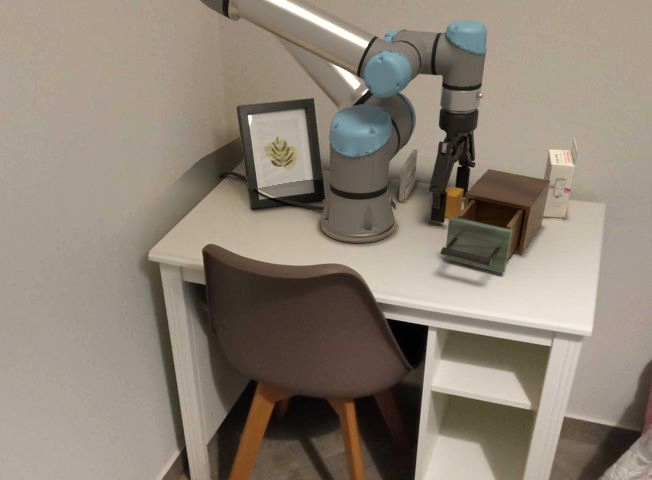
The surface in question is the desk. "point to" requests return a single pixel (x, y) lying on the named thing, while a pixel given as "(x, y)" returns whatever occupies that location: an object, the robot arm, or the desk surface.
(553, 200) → the ink cartridge box
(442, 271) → the desk surface
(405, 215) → the desk surface
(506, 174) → the cabinet
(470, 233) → the drawer
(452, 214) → the block
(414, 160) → the cassette
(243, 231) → the desk surface
